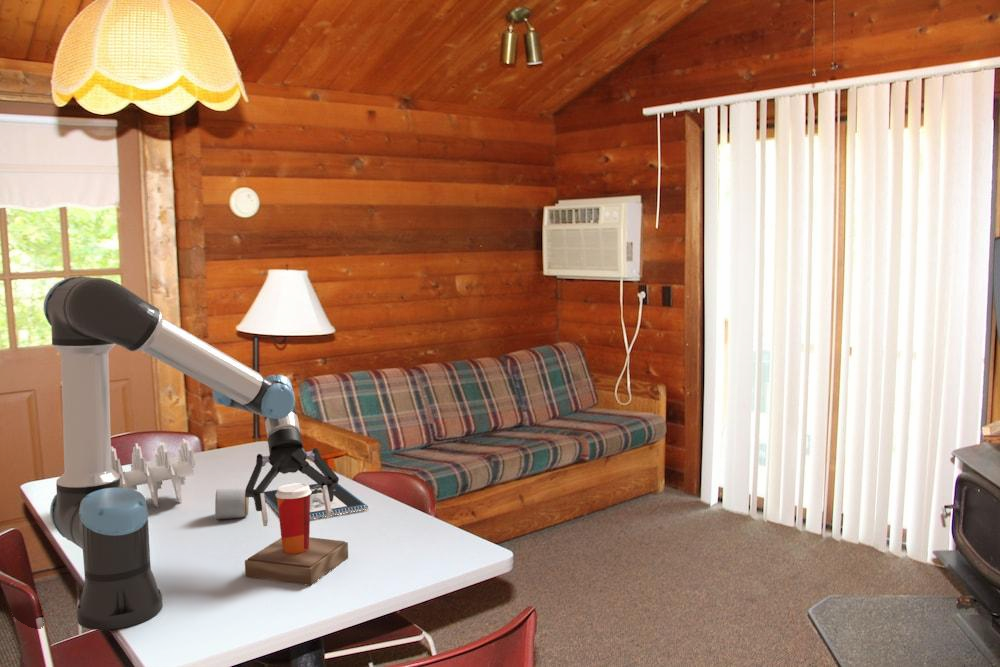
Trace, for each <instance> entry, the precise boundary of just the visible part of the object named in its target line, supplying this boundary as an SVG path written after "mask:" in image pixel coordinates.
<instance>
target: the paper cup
mask: <svg viewBox="0 0 1000 667" xmlns="http://www.w3.org/2000/svg"><path fill="white" fill-rule="evenodd" d="M309 485H310V484H304V483H302V482H301V483H300V482H293V483H286V484H283V485H280V486H279V487H277V489H276V490H277V492H276V494H275V496H276V497H277V502H278V511H279V514H278V519H279V520H278V521H279V528H280V529H279V530H280V536H281V537H280V538H281V539H282V547H283V552H284V553H287V554H300V553H303V552H306V551H307V550H308V549H309V537H310V533H311V532H310V529H311V528H310V526H311V525H310V524H311V523H310V522H311V520H310V494H311V493H312V491H311V490H310V487H309Z"/></svg>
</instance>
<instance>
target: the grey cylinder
mask: <svg viewBox="0 0 1000 667" xmlns="http://www.w3.org/2000/svg"><path fill="white" fill-rule="evenodd" d="M245 490H246V489H242V488H240V489H239V488H237V489H236V488H235V489H233V488H231V489H230V488H226V489H225V488H221V489H220V488H217V489H216V491H215V499H214V503H215V504H214V506H215V507H214V509H215V512H214V513H215V514H214V516H215V519H216V520H227V519H237V518H238V519H239V518H245V517H247V516H248V515H249V509H250V508H249V505H250V504H249V503H250V500H249V498H250V497H248V498H247V497H245Z"/></svg>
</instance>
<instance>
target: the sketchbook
mask: <svg viewBox="0 0 1000 667" xmlns="http://www.w3.org/2000/svg"><path fill="white" fill-rule="evenodd" d="M308 485H309V487H310V490H311V491H312V493H311V494H310V521H314V520H316V519H317V518H319V519H317V520H321V518H320V517H323V519H324V517H325V516H326V517H325V519H327V518H328V517H327V515H326V509H325V504H324V499H323V494H322V490H323V487H322V486H320V485H319V484H318V483H313V484H308ZM332 490H333V495H334V497H333V501H332V502H330V504H331V509H332V513H331V515H332V516H333V515H335V514H336V515H337V514H339V515H340V513H342V514H343V513H345V514H346V512H348V513H349V512H351V511H352V512H353V511H355V512H354V513H357V512H356V511H357V510H358V513H359V510H361V511H362V510H363V509H364V510H365V509H366V510H367V509H368V510H369V506H368V505H367V504H366V503H365V502H363V501H362V500H360V499H359V498H358V497H357V496H355V495H354V494H352V492H350V491H349V490H347V489H346V488H345V487H343V486H342V485H341V484H339V483H338V485H337V486H336V487H332ZM276 492H277V489H272V490H265V491H264V492H263V493H264V497H265V501H267V503H268V504H269V503H270V504H269V505H270V506H271V507H272V508H273V509H274V510H275V511H277V512H278V513H279V511H278V502H277V497H276V496H275V494H276ZM368 510H367V511H368ZM361 511H360V512H361ZM277 512H276V513H277ZM362 512H363V511H362ZM278 513H277V514H278ZM345 514H343V515H345ZM349 514H350V513H349ZM339 515H337V516H339ZM346 515H347V514H346ZM332 516H331V517H332ZM340 516H341V515H340ZM333 517H334V516H333ZM314 518H316V519H314ZM311 519H313V520H311Z"/></svg>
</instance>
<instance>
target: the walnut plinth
mask: <svg viewBox="0 0 1000 667" xmlns="http://www.w3.org/2000/svg"><path fill="white" fill-rule="evenodd" d="M348 558H349V543H348V541H345V540H336V539H328V538H318V537H310V536H309V549H308V550H307V551H306V552H303V553H300V554H287V553H284V552H283V547H282V539H281V537H280V538H279V539H277V540H275V541H274V542H272V543H271V544H269V545H267V546H266V547H264V548H263V549H261V550H260V551H259V550H258V551H257V552H255V554H253V555H251V556H250V557H248V558H247V559H245V560H244V572H245V573H244V574H245V578H251V579H259V580H266V581H274V582H280V583H281V582H283V583H288V584H296V583H297V584H298V585H304V584H307V585H306V586H311V585H312V584H313V583H314V584H316V583H317V582H318V581H319V580H318V579H320V578H321V577H322V576H323V575H325V574H326V573H327V572H329V571H330V570H331V571H333V570H334V569H336V568H337V567H338V566H340V565H341V564H342V563H343V562H345V561H346V560H348ZM336 566H337V567H336ZM333 568H334V569H333ZM332 569H333V570H332ZM331 571H330V572H331ZM330 572H329V573H330ZM327 574H328V573H327ZM327 574H326V575H327ZM326 575H325V576H326ZM322 578H323V577H322ZM322 578H321V579H322ZM321 579H320V580H321ZM317 580H318V581H317ZM316 581H317V582H316ZM315 582H316V583H315ZM314 584H313V585H314ZM313 585H312V586H313Z"/></svg>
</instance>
